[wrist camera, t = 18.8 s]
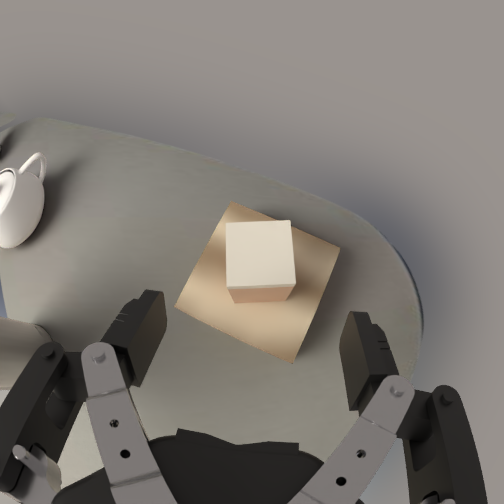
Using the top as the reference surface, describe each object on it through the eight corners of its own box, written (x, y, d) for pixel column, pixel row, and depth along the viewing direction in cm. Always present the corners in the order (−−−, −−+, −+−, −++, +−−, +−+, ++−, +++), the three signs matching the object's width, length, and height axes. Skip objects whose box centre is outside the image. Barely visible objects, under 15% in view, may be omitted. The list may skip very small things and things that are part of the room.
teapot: (48, 158, 43) (19, 124, 33) (76, 192, 40) (41, 155, 30) (-17, 243, 38) (-52, 222, 27) (2, 290, 35) (-41, 273, 24)
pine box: (286, 360, 32) (292, 363, 26) (187, 313, 34) (174, 306, 28) (328, 263, 36) (340, 248, 30) (234, 223, 38) (231, 201, 32)
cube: (285, 300, 28) (295, 283, 21) (234, 303, 28) (226, 286, 21) (281, 252, 30) (290, 220, 22) (233, 255, 30) (225, 222, 22)
